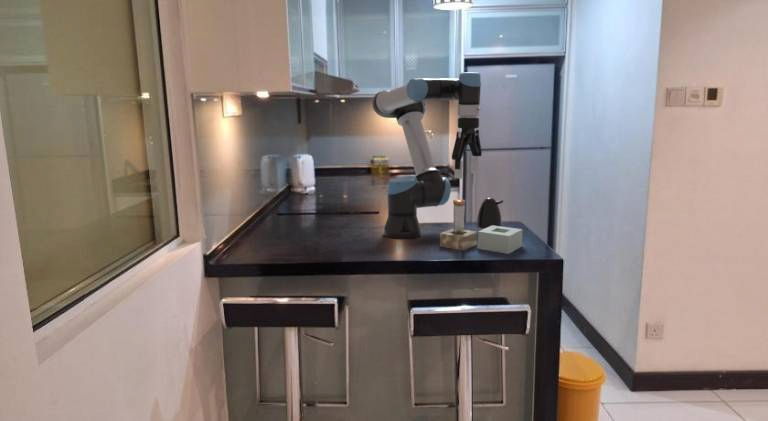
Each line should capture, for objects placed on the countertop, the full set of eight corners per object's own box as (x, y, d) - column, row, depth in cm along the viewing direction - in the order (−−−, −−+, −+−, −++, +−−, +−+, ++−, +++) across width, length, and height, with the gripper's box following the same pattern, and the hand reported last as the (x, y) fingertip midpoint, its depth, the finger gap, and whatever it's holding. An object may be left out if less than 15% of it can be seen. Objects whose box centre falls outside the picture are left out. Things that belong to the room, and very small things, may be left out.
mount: (440, 246, 193) (440, 233, 192) (453, 240, 201) (453, 228, 200) (464, 250, 187) (464, 237, 186) (476, 244, 195) (476, 231, 194)
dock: (477, 248, 189) (478, 231, 188) (492, 241, 199) (492, 225, 198) (508, 253, 182) (509, 236, 181) (521, 246, 192) (522, 229, 191)
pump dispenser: (502, 238, 204) (503, 200, 201) (475, 236, 206) (476, 199, 203) (501, 231, 214) (503, 195, 211) (476, 230, 216) (477, 195, 213)
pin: (450, 245, 194) (451, 200, 190) (456, 243, 197) (456, 199, 194) (460, 247, 191) (461, 202, 188) (466, 245, 195) (467, 200, 191)
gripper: (462, 118, 173) (460, 181, 177) (492, 116, 193) (489, 172, 197) (442, 118, 177) (441, 179, 181) (473, 115, 197) (471, 170, 201)
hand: (466, 175), depth 189 cm, fingers open, 13 cm apart
